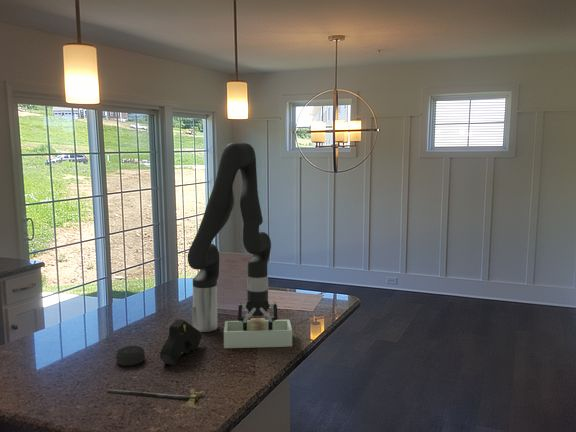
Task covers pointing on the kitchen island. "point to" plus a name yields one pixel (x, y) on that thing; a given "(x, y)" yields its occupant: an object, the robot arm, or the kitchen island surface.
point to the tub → (257, 335)
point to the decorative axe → (165, 396)
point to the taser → (180, 341)
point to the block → (257, 324)
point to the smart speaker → (130, 355)
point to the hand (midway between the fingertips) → (257, 331)
